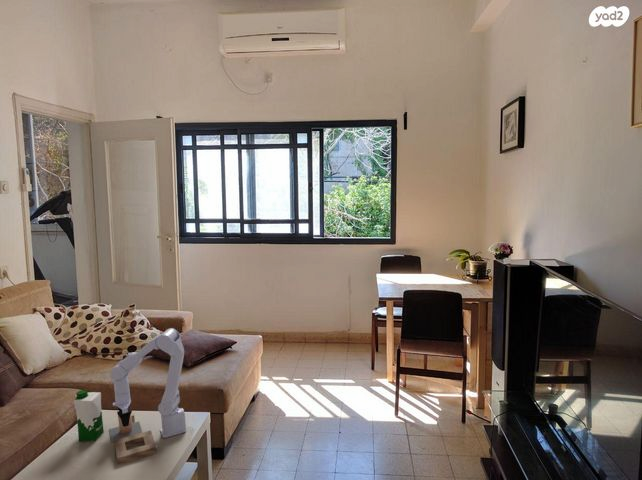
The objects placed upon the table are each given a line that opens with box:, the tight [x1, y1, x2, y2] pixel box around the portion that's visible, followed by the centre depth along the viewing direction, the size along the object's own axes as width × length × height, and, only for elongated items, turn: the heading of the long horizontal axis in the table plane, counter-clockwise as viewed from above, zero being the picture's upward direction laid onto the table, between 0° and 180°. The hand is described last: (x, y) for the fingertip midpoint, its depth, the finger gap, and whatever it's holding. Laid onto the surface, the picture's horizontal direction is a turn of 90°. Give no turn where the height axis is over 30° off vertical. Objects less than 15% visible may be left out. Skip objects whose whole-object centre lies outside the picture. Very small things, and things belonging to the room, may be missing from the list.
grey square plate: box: [109, 421, 143, 444], centre depth 193 cm, size 12×12×1 cm
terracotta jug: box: [117, 413, 136, 435], centre depth 192 cm, size 6×5×8 cm
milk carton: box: [73, 389, 104, 442], centre depth 189 cm, size 9×9×20 cm
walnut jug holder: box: [114, 430, 158, 465], centre depth 180 cm, size 14×14×2 cm
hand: (124, 421), depth 192 cm, fingers open, 7 cm apart
